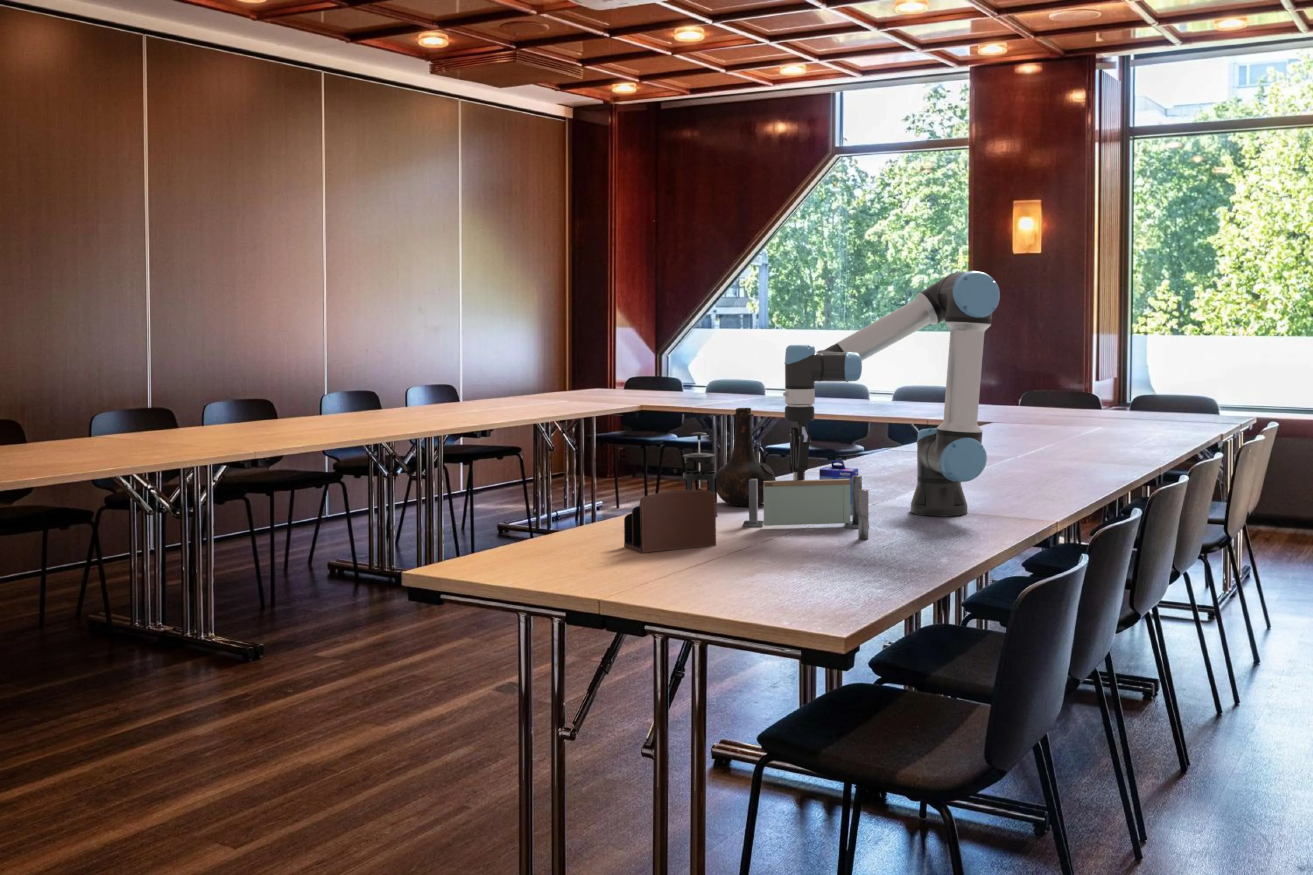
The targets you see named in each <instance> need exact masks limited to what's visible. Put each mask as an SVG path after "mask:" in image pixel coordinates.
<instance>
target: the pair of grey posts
mask: <svg viewBox="0 0 1313 875" xmlns="http://www.w3.org/2000/svg"><path fill="white" fill-rule="evenodd" d="M758 506H759V505H758V484H757V479H749V506H748V507H749V508H748V520H744V521H743V523H742V527H743V528H763V527H764V526H765V525H764V520H759V515H758V513H759V512H758V511H759V510H758V509H759V507H758ZM851 516H852V519H851V520H852V521H851V520H850V523H846V524H844V526H845V527H844V528H845V529H858V532H857V533H858V535H857V537H858V538H857V539H858V540H860V541H867V540H869V529H870V521H869V489H868V488H867V489H866V488H863V476H862V475H858V476H852V514H851Z"/></svg>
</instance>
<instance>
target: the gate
mask: <svg viewBox="0 0 1313 875" xmlns="http://www.w3.org/2000/svg"><path fill="white" fill-rule="evenodd" d="M763 493H764V503H763V521H764V525H763V526H764V527H765V526H770V527H771V526H773V527H774V526H797V525H830V524H831V525H832V524H833V525H835V524H836V525H837V524H840V525H841V524H844V525H845V524H846V523H850V521H851V514H850V479H826V480H819V479H805V480H793V479H792V480H791V479H789V480H776V481H763Z"/></svg>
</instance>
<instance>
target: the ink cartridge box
mask: <svg viewBox="0 0 1313 875" xmlns="http://www.w3.org/2000/svg"><path fill="white" fill-rule="evenodd" d="M830 464H831V466H824V467H821V468H819V473H818V474H819V478H818V480H826V479H850V515H852V476H859V468H858V467H857V468H855V467H846V465H845V462H844V460H830Z"/></svg>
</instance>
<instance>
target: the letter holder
mask: <svg viewBox="0 0 1313 875" xmlns="http://www.w3.org/2000/svg"><path fill="white" fill-rule="evenodd" d="M716 507H717V503H716V502H715V494H714V493H713V492H712V491H708V490H707V489H706V490H704V489H701V490H698V489H692V490H686V489H681V490H680V489H678V490H670V491H669V490H668V491H663V492H657V493H654V494H653V493H652V494H649V495H645V496H643V497H641V498H640V501H639V505H637V506H635V507H633V508H632V510H631V513H629V514H626V515H625V517H624V518H623V520H624V522H623V524H624V525H623V529H624V530H623V533H624V534H623V536H624V537H623V539H624V540H623V541H624V542H623V547H624V548H626V549H629V550H631V551H634V552H637V553H639V554H641V555H642V554H652V553H653V554H654V553H660V552H669V551H671V552H672V551H679V550H689V549H696V548H697V549H698V548H707V547H715V546H717V522H716V520H717V519H716V518H717V517H716Z"/></svg>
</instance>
